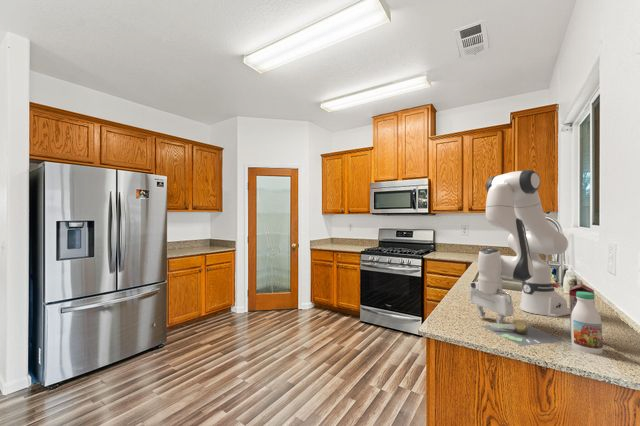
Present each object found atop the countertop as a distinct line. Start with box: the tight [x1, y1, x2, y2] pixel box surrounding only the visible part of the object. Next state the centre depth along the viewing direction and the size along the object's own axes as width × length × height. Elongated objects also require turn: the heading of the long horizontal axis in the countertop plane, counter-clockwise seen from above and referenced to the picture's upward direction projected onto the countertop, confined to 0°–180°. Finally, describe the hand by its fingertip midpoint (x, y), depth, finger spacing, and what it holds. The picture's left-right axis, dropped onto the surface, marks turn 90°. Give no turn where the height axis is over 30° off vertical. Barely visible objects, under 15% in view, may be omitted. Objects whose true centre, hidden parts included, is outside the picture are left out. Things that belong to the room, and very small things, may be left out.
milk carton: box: [569, 280, 596, 330], centre depth 106 cm, size 7×7×22 cm
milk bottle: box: [570, 291, 604, 355], centre depth 97 cm, size 8×8×20 cm
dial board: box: [481, 322, 566, 347], centre depth 111 cm, size 19×19×1 cm
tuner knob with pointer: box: [489, 319, 528, 334], centre depth 112 cm, size 12×4×4 cm, turn 71°
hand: (490, 319), depth 121 cm, fingers open, 8 cm apart
